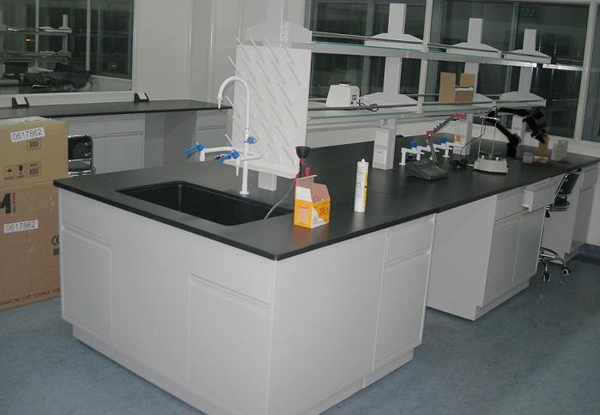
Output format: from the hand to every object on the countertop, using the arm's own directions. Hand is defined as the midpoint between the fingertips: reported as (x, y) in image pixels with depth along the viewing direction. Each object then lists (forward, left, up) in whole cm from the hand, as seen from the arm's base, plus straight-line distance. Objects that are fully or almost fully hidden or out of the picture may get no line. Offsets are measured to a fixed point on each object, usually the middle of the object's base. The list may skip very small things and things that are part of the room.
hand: (545, 143), depth 466 cm
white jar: (-9, -13, -13) cm, 20 cm away
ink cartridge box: (+10, +17, -13) cm, 24 cm away
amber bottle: (-1, 0, -7) cm, 7 cm away
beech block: (-1, 0, -13) cm, 13 cm away
